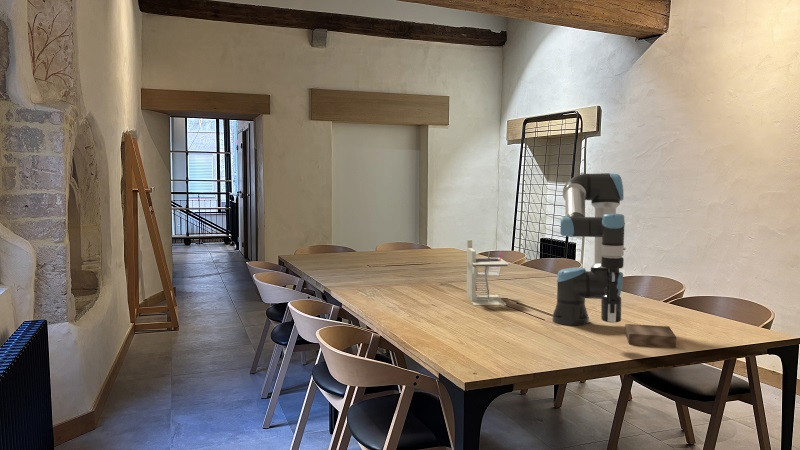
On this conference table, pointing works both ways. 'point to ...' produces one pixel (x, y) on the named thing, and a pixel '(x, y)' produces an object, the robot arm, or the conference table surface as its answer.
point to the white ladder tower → (473, 272)
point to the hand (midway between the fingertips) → (611, 318)
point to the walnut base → (650, 335)
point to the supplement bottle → (605, 306)
